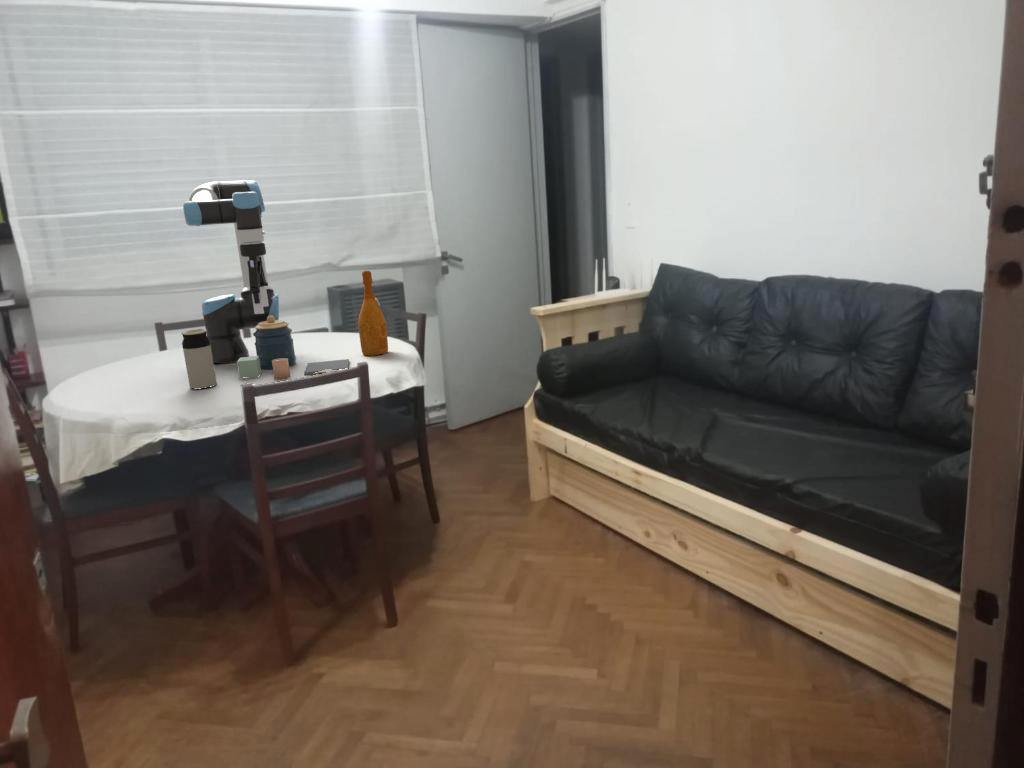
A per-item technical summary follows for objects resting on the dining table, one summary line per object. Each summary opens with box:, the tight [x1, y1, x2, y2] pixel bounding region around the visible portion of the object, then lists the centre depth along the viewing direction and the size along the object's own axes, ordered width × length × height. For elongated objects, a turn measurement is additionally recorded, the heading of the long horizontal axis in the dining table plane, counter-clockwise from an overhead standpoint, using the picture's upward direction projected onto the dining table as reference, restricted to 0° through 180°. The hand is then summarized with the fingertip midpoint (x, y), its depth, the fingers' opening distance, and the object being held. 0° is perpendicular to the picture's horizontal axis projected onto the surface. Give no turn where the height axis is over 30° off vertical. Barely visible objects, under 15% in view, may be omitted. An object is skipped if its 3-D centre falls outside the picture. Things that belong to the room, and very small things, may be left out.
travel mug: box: [180, 328, 218, 389], centre depth 227 cm, size 8×8×18 cm
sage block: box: [236, 355, 262, 379], centre depth 240 cm, size 6×6×6 cm
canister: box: [252, 315, 297, 370], centre depth 252 cm, size 13×13×18 cm
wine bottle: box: [357, 270, 389, 356], centre depth 259 cm, size 10×10×30 cm
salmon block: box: [272, 358, 291, 381], centre depth 235 cm, size 5×5×6 cm
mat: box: [303, 358, 350, 376], centre depth 244 cm, size 14×14×1 cm
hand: (261, 310), depth 232 cm, fingers open, 13 cm apart
